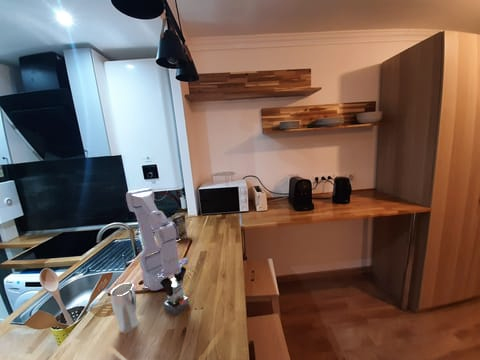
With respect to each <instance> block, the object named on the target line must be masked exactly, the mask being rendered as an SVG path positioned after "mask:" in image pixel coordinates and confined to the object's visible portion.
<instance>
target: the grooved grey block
mask: <svg viewBox="0 0 480 360" xmlns="http://www.w3.org/2000/svg"><path fill="white" fill-rule="evenodd" d="M170 280H173V281H172V296H168V295H167V294H166V299H167V300H168V301H169V302H171V303H173V305H176V304H179V301H180V300H181V299H182V298H183V297H184V296H185V294H184V291H183V282H182V281H181V280H179V279H177V278H175V277H173V278H171V279H170ZM183 295H184V296H183Z"/></svg>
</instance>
